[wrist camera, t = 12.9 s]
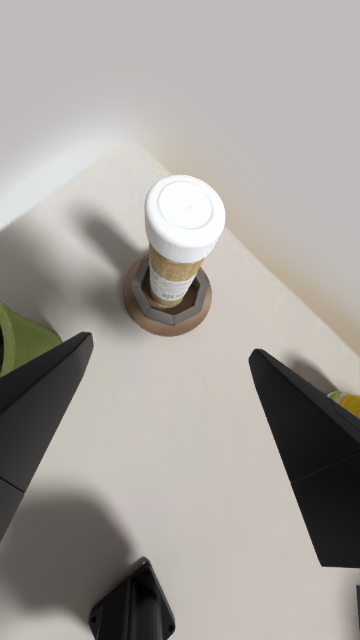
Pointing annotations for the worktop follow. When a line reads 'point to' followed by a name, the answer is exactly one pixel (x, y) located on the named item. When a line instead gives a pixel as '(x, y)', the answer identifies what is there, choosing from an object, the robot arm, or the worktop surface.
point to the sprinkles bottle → (180, 233)
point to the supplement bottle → (347, 401)
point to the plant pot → (21, 340)
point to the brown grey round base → (159, 317)
